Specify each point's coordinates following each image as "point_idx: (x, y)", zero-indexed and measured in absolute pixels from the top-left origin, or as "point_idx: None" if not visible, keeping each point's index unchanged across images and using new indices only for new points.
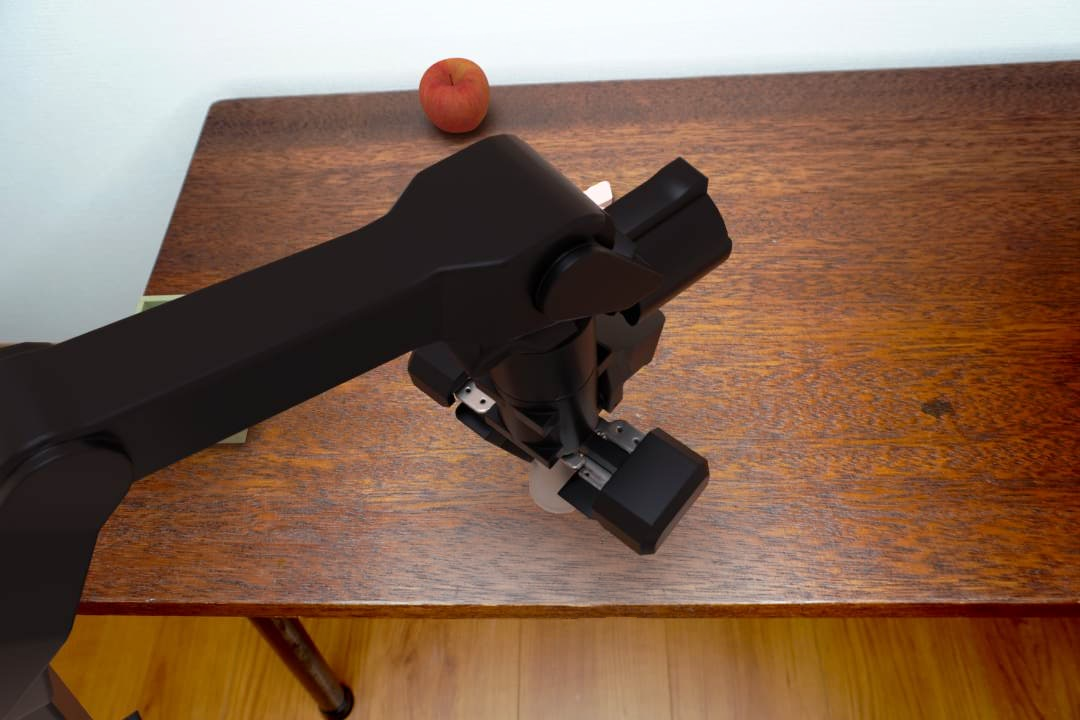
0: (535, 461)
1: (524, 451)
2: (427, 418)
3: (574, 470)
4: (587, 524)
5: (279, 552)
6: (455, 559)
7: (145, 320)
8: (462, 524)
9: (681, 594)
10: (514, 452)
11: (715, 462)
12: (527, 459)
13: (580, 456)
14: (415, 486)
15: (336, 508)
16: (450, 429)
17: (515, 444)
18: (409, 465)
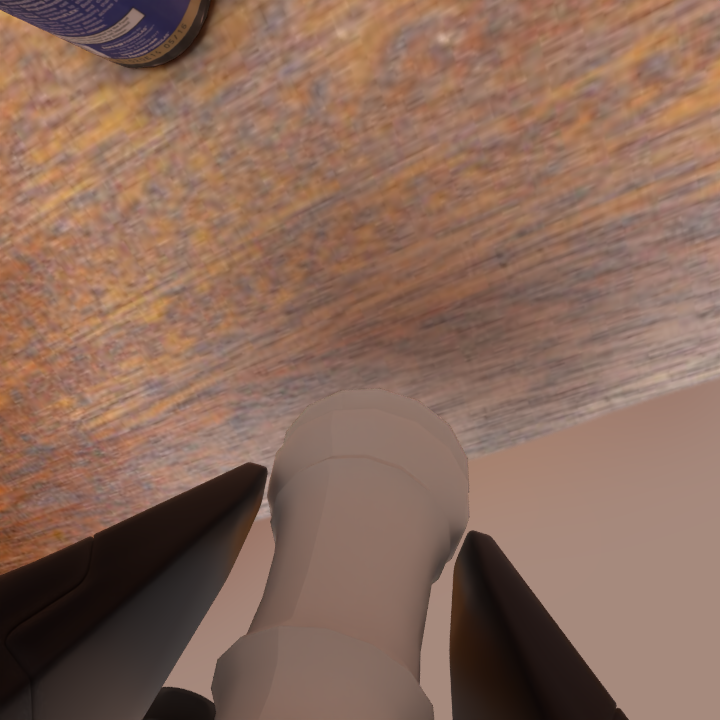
0: (269, 494)
1: (203, 599)
2: (62, 259)
3: (424, 624)
4: (430, 337)
5: (46, 526)
6: (255, 463)
7: None
8: (233, 412)
9: (643, 395)
10: (160, 683)
11: (671, 78)
12: (238, 551)
13: (400, 436)
14: (131, 382)
15: (60, 453)
16: (110, 262)
17: (129, 715)
18: (98, 353)
